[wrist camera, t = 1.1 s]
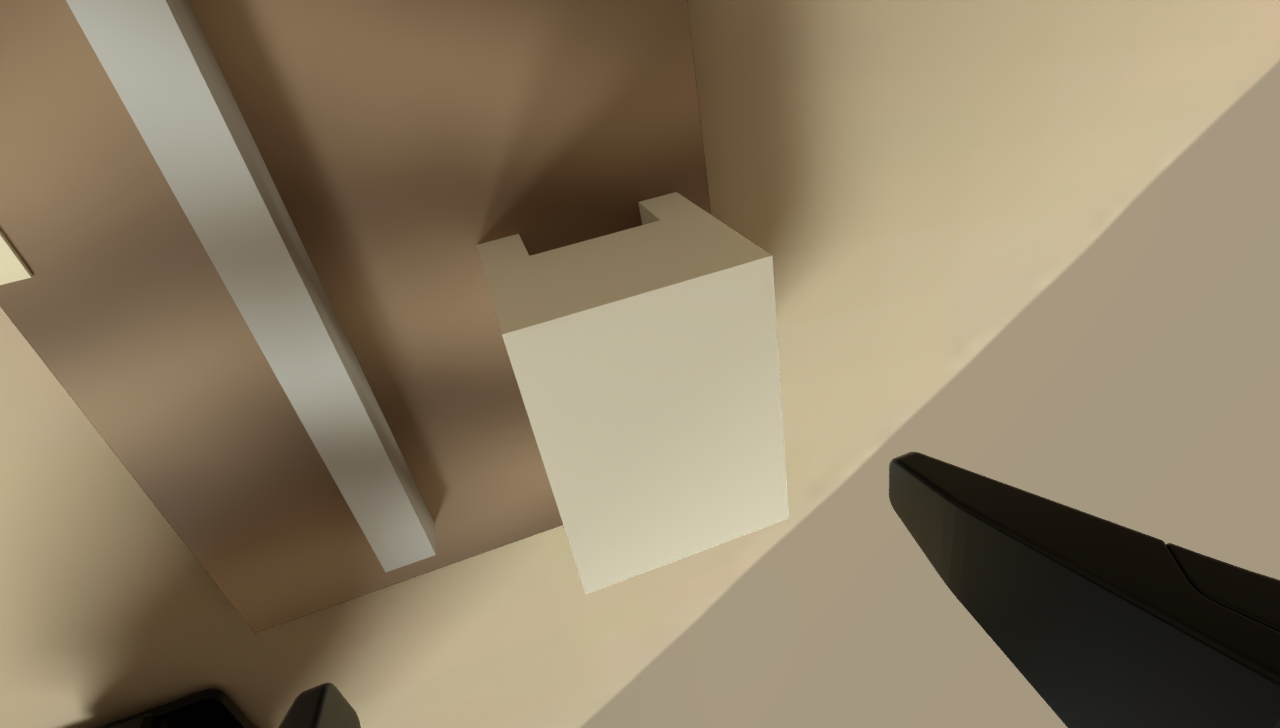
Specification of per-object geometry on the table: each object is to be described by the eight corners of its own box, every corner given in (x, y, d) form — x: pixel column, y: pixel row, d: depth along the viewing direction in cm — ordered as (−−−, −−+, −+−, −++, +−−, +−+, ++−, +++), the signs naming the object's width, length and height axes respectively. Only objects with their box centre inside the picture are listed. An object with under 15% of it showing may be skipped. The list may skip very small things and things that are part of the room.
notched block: (706, 408, 23) (788, 518, 18) (546, 462, 22) (585, 594, 17) (676, 192, 19) (772, 255, 14) (476, 244, 18) (501, 334, 13)
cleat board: (726, 445, 26) (756, 486, 23) (261, 605, 22) (244, 671, 20) (615, -444, 13) (657, -540, 11) (-458, -365, 10) (-708, -474, 8)
